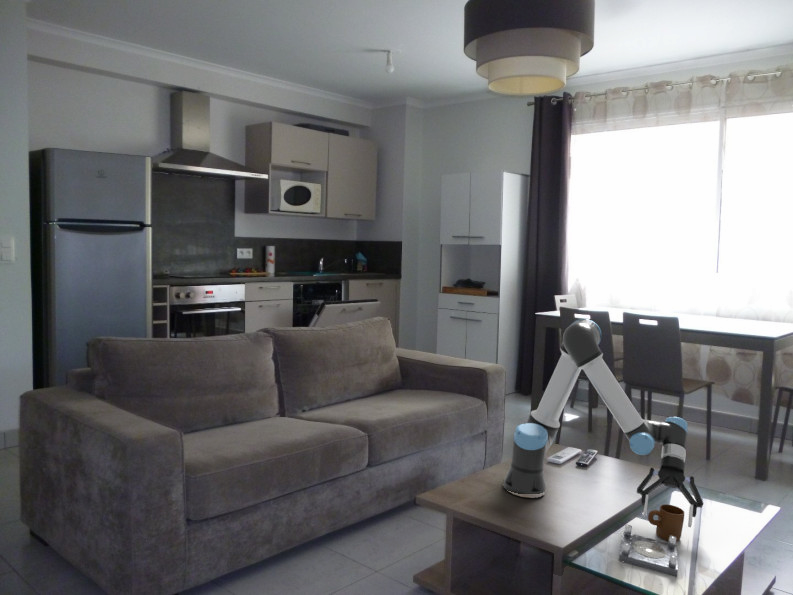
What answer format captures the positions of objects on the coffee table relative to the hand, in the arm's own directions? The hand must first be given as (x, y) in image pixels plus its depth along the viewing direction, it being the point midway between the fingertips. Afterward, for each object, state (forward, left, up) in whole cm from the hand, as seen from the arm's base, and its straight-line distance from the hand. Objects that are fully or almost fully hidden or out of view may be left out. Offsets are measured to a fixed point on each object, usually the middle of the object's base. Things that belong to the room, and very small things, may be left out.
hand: (667, 520), depth 211 cm
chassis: (-5, -16, -6) cm, 18 cm away
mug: (-1, 0, -6) cm, 6 cm away
